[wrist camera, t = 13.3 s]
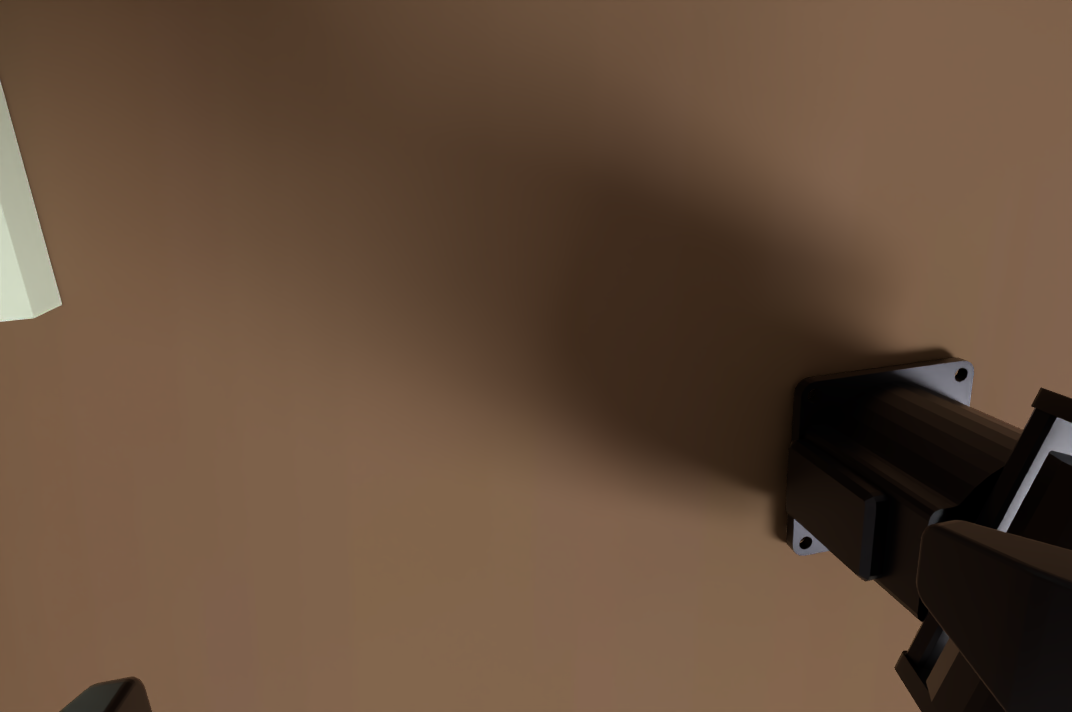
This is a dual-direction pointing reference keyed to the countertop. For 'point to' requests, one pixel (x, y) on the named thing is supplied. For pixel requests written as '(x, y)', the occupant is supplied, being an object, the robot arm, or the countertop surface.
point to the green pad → (20, 237)
